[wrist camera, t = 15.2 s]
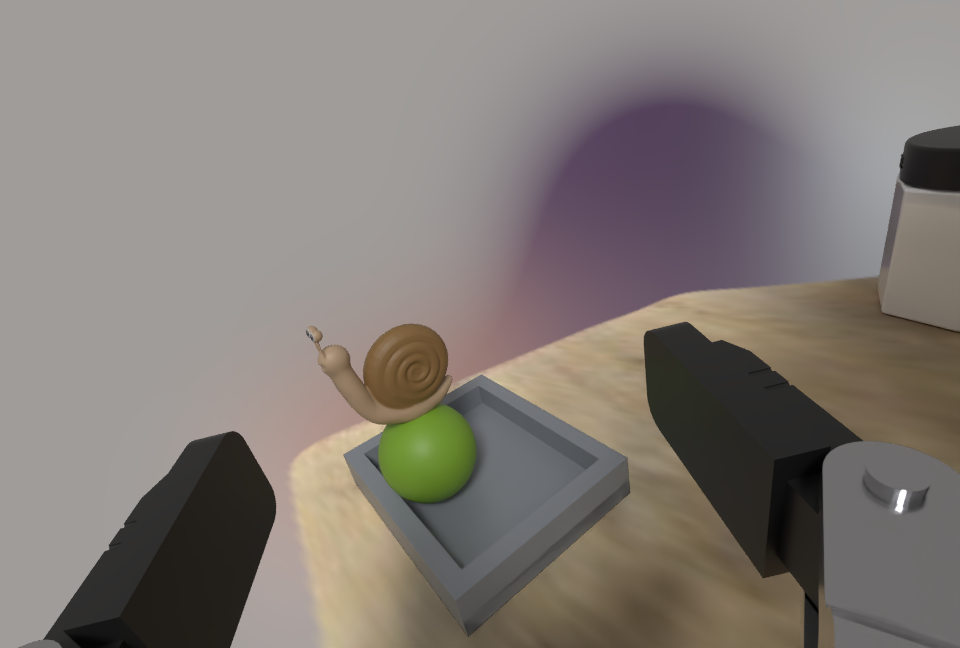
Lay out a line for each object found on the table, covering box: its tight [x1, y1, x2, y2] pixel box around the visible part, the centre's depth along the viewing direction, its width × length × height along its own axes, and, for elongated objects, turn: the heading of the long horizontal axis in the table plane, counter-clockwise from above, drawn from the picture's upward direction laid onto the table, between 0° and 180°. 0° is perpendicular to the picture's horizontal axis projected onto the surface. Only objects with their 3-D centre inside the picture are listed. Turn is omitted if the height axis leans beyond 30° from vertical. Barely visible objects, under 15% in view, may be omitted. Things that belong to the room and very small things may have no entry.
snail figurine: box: [306, 324, 477, 503], centre depth 25 cm, size 5×6×12 cm
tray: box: [344, 375, 630, 636], centre depth 28 cm, size 11×13×2 cm
